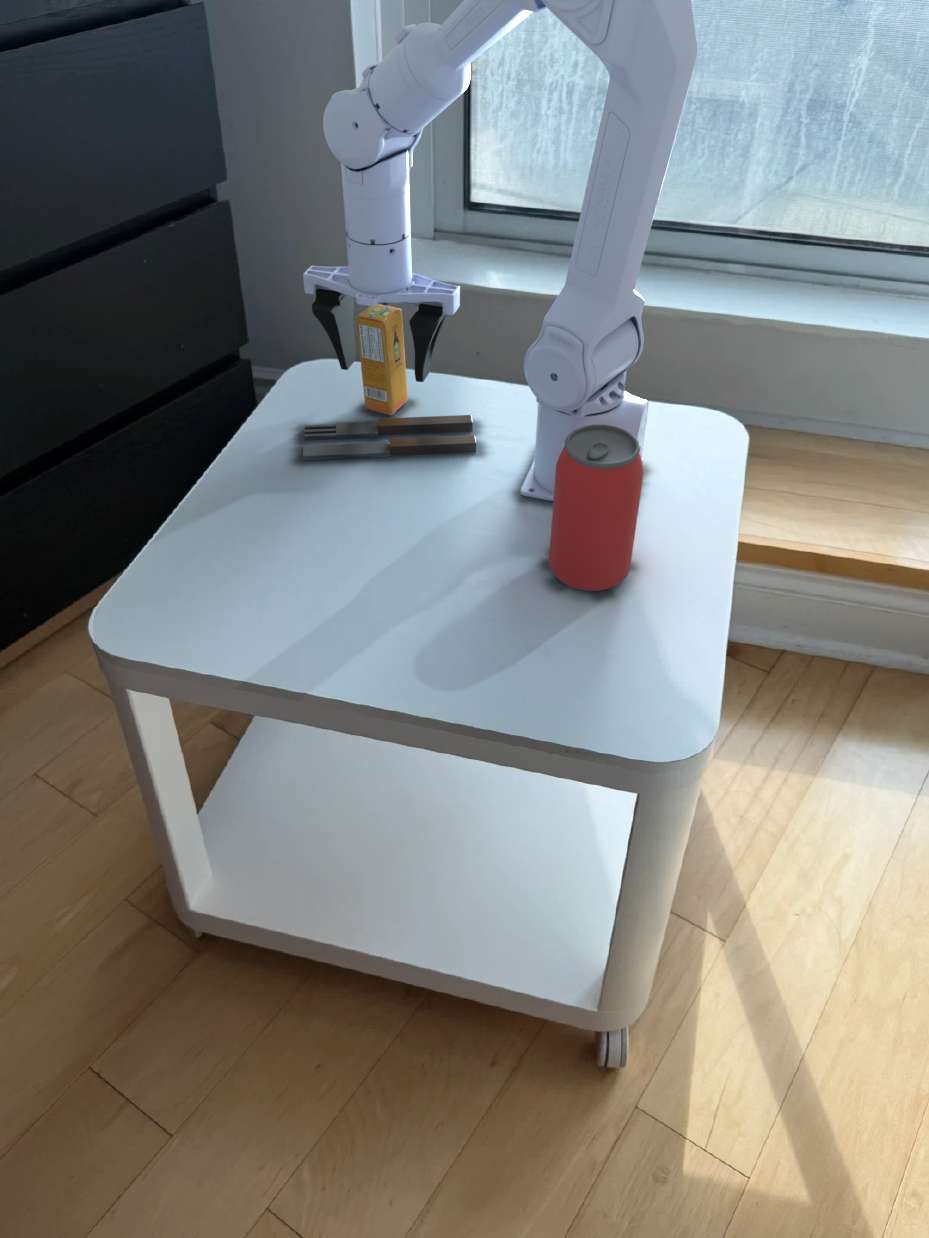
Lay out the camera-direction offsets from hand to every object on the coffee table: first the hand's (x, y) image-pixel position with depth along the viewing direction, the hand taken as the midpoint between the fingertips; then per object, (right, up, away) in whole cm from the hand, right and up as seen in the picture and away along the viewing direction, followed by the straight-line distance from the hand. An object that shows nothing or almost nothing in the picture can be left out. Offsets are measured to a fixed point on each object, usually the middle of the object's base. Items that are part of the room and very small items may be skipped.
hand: (385, 371), depth 103 cm
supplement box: (0, -3, +3) cm, 4 cm away
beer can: (+18, -20, -16) cm, 31 cm away
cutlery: (+1, -7, -2) cm, 8 cm away
